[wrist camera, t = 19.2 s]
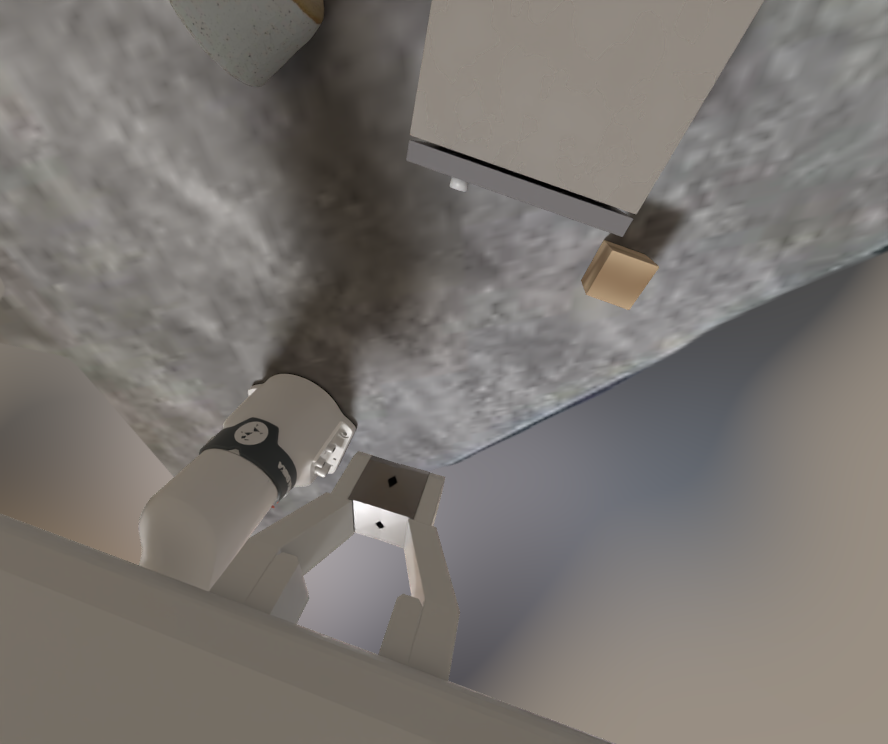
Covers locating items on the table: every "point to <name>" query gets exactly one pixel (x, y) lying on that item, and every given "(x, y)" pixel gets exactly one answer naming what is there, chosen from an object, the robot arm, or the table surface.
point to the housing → (573, 85)
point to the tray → (517, 186)
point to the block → (618, 275)
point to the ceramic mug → (251, 32)
